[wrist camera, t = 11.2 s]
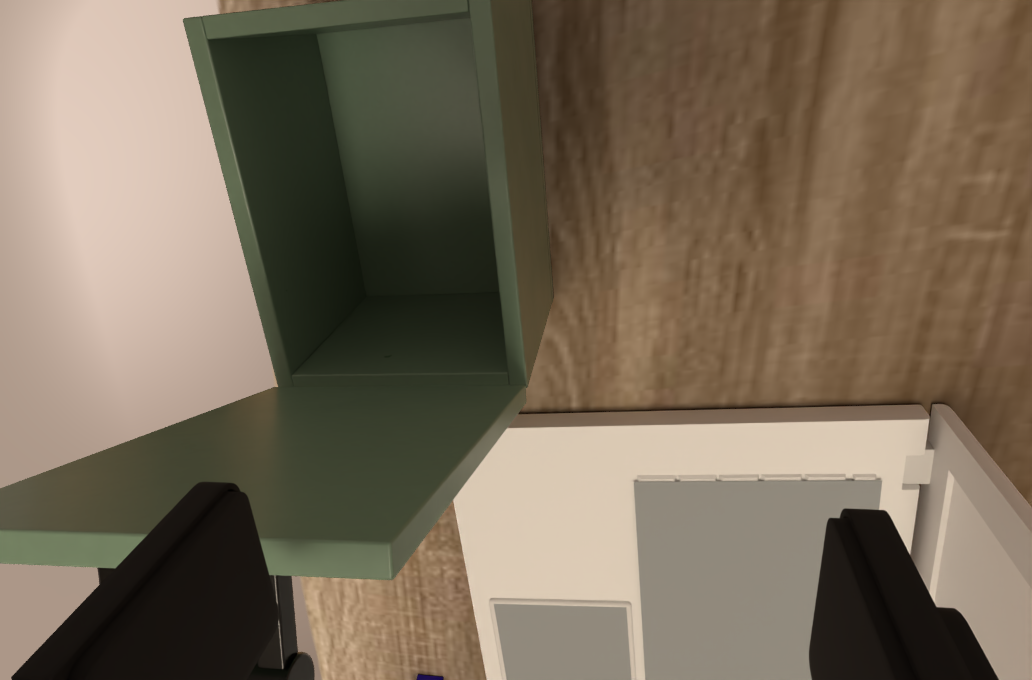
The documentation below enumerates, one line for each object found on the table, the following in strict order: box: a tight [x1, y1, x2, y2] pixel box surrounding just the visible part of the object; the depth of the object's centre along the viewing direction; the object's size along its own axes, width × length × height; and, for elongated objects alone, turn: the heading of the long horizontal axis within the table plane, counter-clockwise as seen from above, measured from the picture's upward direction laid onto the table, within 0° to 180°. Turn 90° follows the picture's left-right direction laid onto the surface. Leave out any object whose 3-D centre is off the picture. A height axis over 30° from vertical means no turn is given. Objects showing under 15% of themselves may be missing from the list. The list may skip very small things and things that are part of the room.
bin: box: [183, 0, 554, 388], centre depth 33 cm, size 16×12×11 cm
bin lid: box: [0, 385, 526, 680], centre depth 23 cm, size 16×12×5 cm
